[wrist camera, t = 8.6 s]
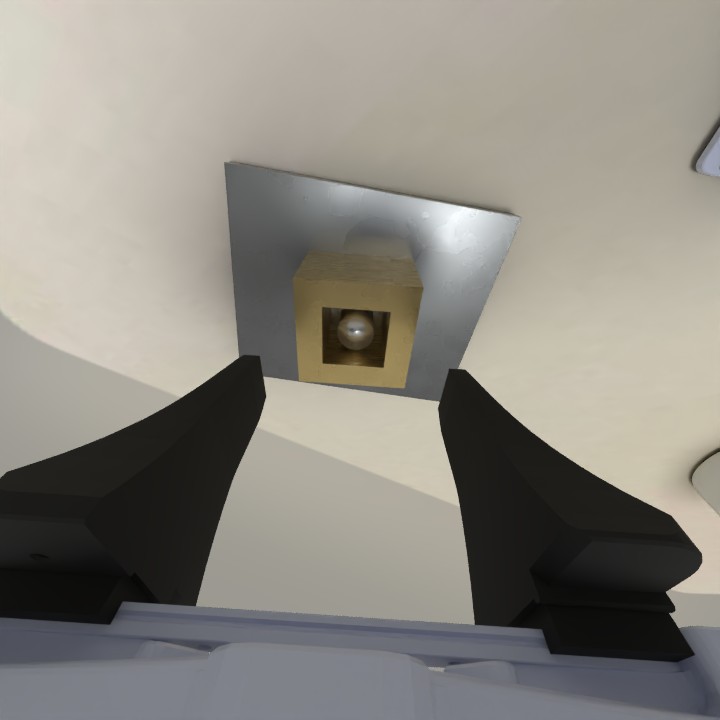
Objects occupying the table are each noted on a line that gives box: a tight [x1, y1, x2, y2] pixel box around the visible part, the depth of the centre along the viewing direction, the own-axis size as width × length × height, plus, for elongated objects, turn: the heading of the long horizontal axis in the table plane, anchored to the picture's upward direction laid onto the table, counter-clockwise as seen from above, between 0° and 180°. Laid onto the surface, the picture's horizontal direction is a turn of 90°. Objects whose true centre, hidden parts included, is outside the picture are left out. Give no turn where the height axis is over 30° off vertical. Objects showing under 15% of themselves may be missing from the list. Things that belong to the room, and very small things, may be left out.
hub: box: [293, 251, 424, 388], centre depth 16 cm, size 5×5×4 cm
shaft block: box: [224, 162, 521, 402], centre depth 17 cm, size 14×12×4 cm
